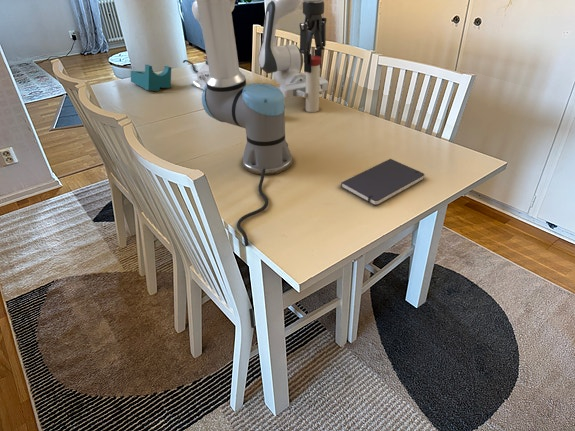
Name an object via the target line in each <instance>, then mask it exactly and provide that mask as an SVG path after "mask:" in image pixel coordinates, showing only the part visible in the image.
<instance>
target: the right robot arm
mask: <svg viewBox="0 0 575 431" xmlns="http://www.w3.org/2000/svg"><path fill="white" fill-rule="evenodd" d="M197 6H198V11H199V17H200V22H201V26H200V28H201V32H202V37H203V38H202V39H203V43H204V49H205V56H207V61H208V66H209V72H210V76H209V77H208V78H207V80H206V85H205V87H204V89H202V91H203V92H201V104H202V107H203V110H204V111H205V113H206V114H207V116H209V117H210V118H212V119H214V120H215V121H218V122H221V123H226V124H229V125H233V126H237V127H239V128H242V129H245V136H246V137H245V138H246V143H245V146H244V151H243V155H242V166H243V168H244V170H246V171H247V172H249V173H252V174H254V175H255V174H256V175H260V179H259V183H258V188H257V190H258V193H259V195H260V196H261V197H262V198H263V201H264V204H263V205H262V206H261V207H260V208H258V209H256V210H253V211H251V212H249V213H246V214H244V215H243V216H241V217H240V218H239V219H238V220H237V223H236V228H237V230H238V231H239V232H240V234H241V235H242V237H243V241H244V242H243V243H244V246H245V247H248V246H249V238H248V235H247V233H246V231H245V230H244V229H243V227H242V226H241V224H242V223H243V221H245V220H246V219H248V218H250V217H253V216H254V215H257V214H259V213H262V212H263V211H264V210H266V208H267V207H268V205H269V199H268V197H267V196H266V194H265V193H264V192H263V188H262V187H263V183H264V180H265V176H269V175H277V174H280V173H283V172H286V171H287V170H289V169H290V167H291V166H292V163H293V157H292V153H291V150H290V148H289V143H288V142H287V140H286V105H285V98H284V96H283V93H282V92H281V90H280V89H278V86H275V85H272V84H269V83H259V82H255V83H249V84H247V80H246V75H245V74H244V73H242V72H241V71H240V66H239V65H240V64H239V59H238V50H237V44H236V36H235V29H234V22H233V14H232V12H231V6H230V0H197ZM324 13H325V1H324V0H303V1H302V14H303V15H304V21H303V22H300V23H299V24H298V25H299V49H300V53H302V54H303V73H306V72H309V73H311V55H312V53H311V50H312V45H313V44H312V43H313V40H314V44H315V49H314V52H313V55H316V56H320V57H321V58H322V57H323V55H322V54H323V50H325V47H326V45H327V43H326V42H327V41H326V39H327V36H326V35H327V34H326V33H327V32H326V31H327V26H326V24H327V18H326V17H323V16H322V15H324ZM313 37H314V39H313ZM320 69H322V63H321V64H320ZM248 310H249V321H250V327H251V329H255V318H254V317H255V316H254V311H253V310H254V309H253V308H248Z"/></svg>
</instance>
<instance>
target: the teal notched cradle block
mask: <svg viewBox="0 0 575 431" xmlns="http://www.w3.org/2000/svg"><path fill="white" fill-rule="evenodd" d="M130 82H131V83H132V84H134V85H137V86H139V87H140V88H142V89H144V90H146V91H154V92H155V91H156V92H157V91H158V92H160V90H161V88H164V89H166V88H167V89H170V88H171V85H172V67H171V66H168V65H164V68H163V70H162V72H161V73H156V72H154V70H153V66H152V65H150V64H144V71H141V70H130Z"/></svg>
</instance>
